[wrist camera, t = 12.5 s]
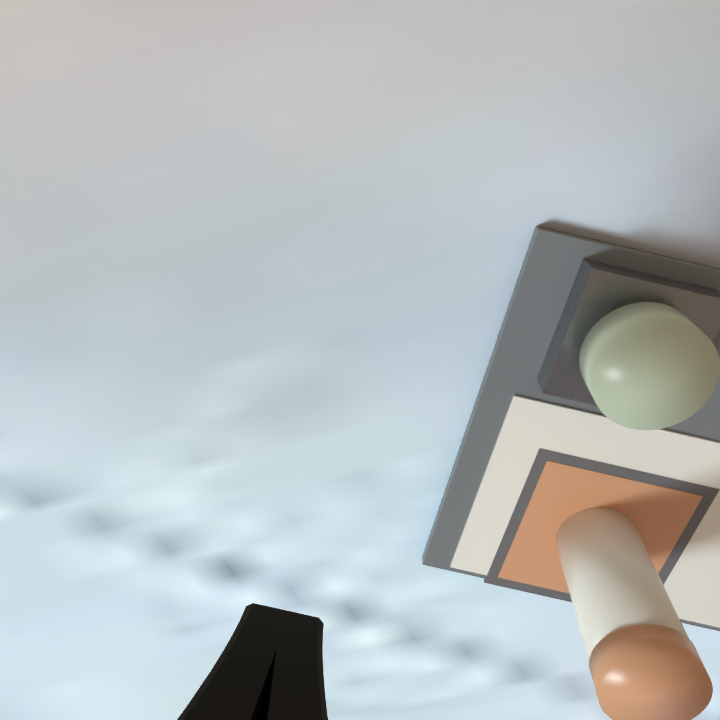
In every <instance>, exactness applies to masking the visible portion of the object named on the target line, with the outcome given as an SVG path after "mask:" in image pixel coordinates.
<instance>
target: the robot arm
mask: <svg viewBox="0 0 720 720" xmlns="http://www.w3.org/2000/svg"><path fill="white" fill-rule="evenodd" d="M322 641H323V622H322V621H321V620H320V619H319V618H317V617H313V616H308V615H304V614H299V613H295V612H290V611H286V610H281V609H277V608H272V607H268V606H263V605H259V604H254V603H253V604H251V605H248V606H246V608H245V610H244V613H243V615H242V617H241V620H240V622H239V624H238V625H237V627H236V629H235V631H234V633H233V635H232V637H231V639H230V640H229V642H228V644H227V646H226V647H225V649H224V651H223V652H222V654H221V656H220V657H219V659H218V661H217V662H216V664H215V665H214V667H213V669H212V670H211V672H210V673H209V675H208V676H207V678H206V679H205V681H204V682H203V684H202V685H201V686H200V688H199V689H198V691H197V692H196V694H195V695H194V697H193V698H192V700H191V701H190V703H189V704H188V706H187V707H186V708H185V710H184V711H183V713H182V714H181V715H180V717H179V718H178V719H177V720H328V717H327V709H326V700H325V689H324V676H323V656H322Z"/></svg>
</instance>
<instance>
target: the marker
mask: <svg viewBox="0 0 720 720" xmlns="http://www.w3.org/2000/svg"><path fill="white" fill-rule="evenodd" d="M555 542H556V548H557V551H558V555H559V558H560V562H561V565H562V569H563V572H564V576H565V579H566V583H567V586H568V590H569V593H570V596H571V600H572V603H573V607H574V610H575V614H576V617H577V621H578V624H579V628H580V631H581V634H582V638H583V641H584V645H585V648H586V652H587V655H588V659H589V668H590V672H591V676H592V679H593V683H594V686H595V690H596V693H597V697H598V700H599V704H600V706H601V708H602V709H603V711H604V712H605V713H606V714H607V715H608V716H609V717H610V718H611V719H613V720H691V719H693V718H694V717H696V716H697V715H699V714H700V713H701V712H702V711H703V710H704V709H705V708H706V706H707V705H708V704H709V702H710V700H711V697H712V692H713V688H712V683H711V680H710V678H709V676H708V673H707V671H706V669H705V667H704V665H703V663H702V661H701V659H700V657H699V655H698V653H697V650H696V648H695V646H694V645H693V643H692V642H691V641H690V639H689V638H688V636H687V634H686V632H685V630H684V627H683V625H682V623H681V621H680V619H679V617H678V615H677V613H676V611H675V609H674V606H673V604H672V602H671V600H670V598H669V596H668V594H667V592H666V590H665V587H664V585H663V583H662V581H661V579H660V577H659V575H658V573H657V571H656V568H655V566H654V564H653V562H652V560H651V558H650V556H649V554H648V552H647V549H646V547H645V545H644V543H643V541H642V539H641V537H640V535H639V533H638V531H637V528H636V526H635V525H634V523H633V521H632V520H631V519H630V518H629V517H628V516H626V515H625V514H623V513H622V512H619V511H617V510H614V509H610V508H590V509H585V510H582V511H580V512H577V513H575V514H573V515H572V516H570V517H569V518H567V519H566V520H565V521H564V522H563V523H562V525H561V526H560V527H559V529H558V531H557V534H556V540H555Z"/></svg>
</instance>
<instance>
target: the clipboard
mask: <svg viewBox="0 0 720 720" xmlns="http://www.w3.org/2000/svg"><path fill="white" fill-rule="evenodd" d="M583 258H584V259H589V260H593V261H597V262H601V263H606V264H610V265H614V266H618V267H623V268H627V269H631V270H636V271H640V272H644V273H648V274H653V275H657V276H661V277H665V278H670V279H674V280H678V281H683V282H687V283H691V284H695V285H700V286H704V287H708V288H713V289H717V290H718V291H720V269H716V268H712V267H708V266H703V265H699V264H695V263H690V262H686V261H682V260H678V259H673V258H669V257H665V256H661V255H656V254H652V253H648V252H644V251H639V250H635V249H631V248H627V247H622V246H618V245H614V244H609V243H605V242H601V241H597V240H592V239H588V238H584V237H580V236H575V235H571V234H567V233H563V232H558V231H554V230H550V229H546V228H541V227H537V226H536V227H535V230H534V233H533V236H532V239H531V242H530V245H529V248H528V251H527V254H526V257H525V259H524V262H523V265H522V268H521V271H520V274H519V277H518V280H517V283H516V286H515V289H514V291H513V294H512V297H511V300H510V303H509V306H508V309H507V312H506V315H505V318H504V321H503V324H502V326H501V329H500V332H499V335H498V338H497V341H496V344H495V347H494V350H493V353H492V356H491V359H490V361H489V364H488V367H487V370H486V373H485V376H484V379H483V382H482V385H481V388H480V391H479V394H478V396H477V399H476V402H475V405H474V408H473V411H472V414H471V417H470V420H469V423H468V426H467V428H466V431H465V434H464V437H463V440H462V443H461V446H460V449H459V452H458V455H457V458H456V461H455V463H454V466H453V469H452V472H451V475H450V478H449V481H448V484H447V487H446V490H445V493H444V496H443V498H442V501H441V504H440V507H439V510H438V513H437V516H436V519H435V522H434V525H433V528H432V531H431V533H430V536H429V539H428V542H427V545H426V548H425V551H424V554H423V557H422V558H423V565H427V566H432V567H436V568H441V569H445V570H450V571H454V572H459V573H463V574H468V575H472V576H477V577H481V578H485V579H484V583H489V584H493V585H498V586H502V587H507V588H511V589H516V590H520V591H525V592H529V593H533V594H538V595H542V596H547V597H551V598H556V599H560V600H565V601H569V602H572V600H571V596H570V593H569V590H568V586H567V583H566V579H565V576H564V572H563V569H562V565H561V562H560V558H559V555H558V551H557V548H556V542H555V540H556V534H557V531H558V529H559V527H560V526H561V525H562V523H563V522H564V521H565V520H566V519H567V518H569V517H570V516H572V515H573V514H575V513H577V512H580V511H582V510H585V509H590V508H610V509H614V510H617V511H619V512H622V513H623V514H625V515H626V516H628V517H629V518H630V519H631V520H632V521H633V523H634V525H635V526H636V528H637V531H638V533H639V535H640V537H641V539H642V541H643V543H644V545H645V547H646V549H647V552H648V554H649V556H650V558H651V560H652V562H653V564H654V566H655V568H656V571H657V573H658V575H659V577H660V579H661V581H662V583H663V585H664V587H665V590H666V592H667V594H668V596H669V598H670V600H671V602H672V604H673V606H674V609H675V611H676V613H677V615H678V617H679V619H680V621H681V622H682V623H686V624H690V625H695V626H699V627H704V628H708V629H713V630H717V631H720V376H719V380H718V383H717V386H716V388H715V390H714V392H713V394H712V396H711V397H710V399H709V400H708V401H707V402H706V404H705V405H704V406H703V407H702V408H701V409H700V410H699V411H697V412H696V413H695V414H694V415H692V416H691V417H689V418H688V419H686V420H684V421H682V422H680V423H678V424H675V425H673V426H670V427H666V428H663V429H656V430H636V429H630V428H627V427H623V426H621V425H619V424H616V423H615V422H613V421H612V420H610V419H609V418H608V417H606V416H605V415H604V414H603V413H602V412H601V410H600V409H599V407H598V406H596V405H592V404H587V403H583V402H578V401H574V400H570V399H565V398H561V397H557V396H552V395H548V394H544V393H542V391H541V388H540V385H539V383H538V380H537V376H538V374H539V371H540V368H541V366H542V363H543V361H544V358H545V355H546V353H547V350H548V348H549V345H550V342H551V340H552V337H553V335H554V332H555V330H556V327H557V324H558V322H559V319H560V317H561V314H562V311H563V309H564V306H565V304H566V301H567V298H568V296H569V293H570V291H571V288H572V286H573V283H574V280H575V278H576V275H577V273H578V270H579V267H580V265H581V262H582V260H583ZM712 343H713V344H714V346H715V348H716V350H717V352H718V355H719V360H720V328H719V330H718V332H717V334H716V336H715V338H714V340H713V342H712Z"/></svg>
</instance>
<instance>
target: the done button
mask: <svg viewBox="0 0 720 720" xmlns="http://www.w3.org/2000/svg"><path fill="white" fill-rule="evenodd" d="M579 366H580V371H581V375H582V377H583V379H584V382H585V383H586V385H587V387H588V389H589V391H590V393H591V395H592V397H593V399H594V400H595V402H596V404H597V406H598V407H599V409H600V410H601V412H602V413H603V414H604V415H605V416H606V417H608V418H609V419H610V420H612V421H613V422H615V423H616V424H619V425H621V426H623V427H627V428H630V429H636V430H656V429H663V428H666V427H670V426H673V425H675V424H678V423H680V422H682V421H684V420H686V419H688V418H689V417H691V416H692V415H694V414H695V413H696V412H697V411H699V410H700V409H701V408H702V407H703V406H704V405H705V404H706V402H707V401H708V400H709V399H710V397H711V396H712V394H713V392H714V390H715V388H716V386H717V383H718V380H719V376H720V360H719V355H718V352H717V350H716V348H715V346H714V344H713V343H712V341H711V340H710V339H709V338H708V337H707V336H706V335H705V334H704V333H703V332H702V331H701V330H700V329H699V328H698V327H697V326H695V325H694V324H693V323H692V322H691V321H690V320H689V319H688V318H687V317H686V316H685V315H684V314H682V313H681V312H680V311H678V310H677V309H675V308H673V307H671V306H668V305H665V304H662V303H656V302H638V303H633V304H629V305H625V306H622V307H620V308H618V309H615V310H613V311H612V312H610V313H608V314H607V315H605V316H604V317H603V318H601V319H600V320H599V321H598V322H597V323H596V324H595V325H594V326H593V327H592V328H591V330H590V331H589V332H588V334H587V335H586V337H585V339H584V341H583V344H582V347H581V350H580V355H579Z"/></svg>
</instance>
